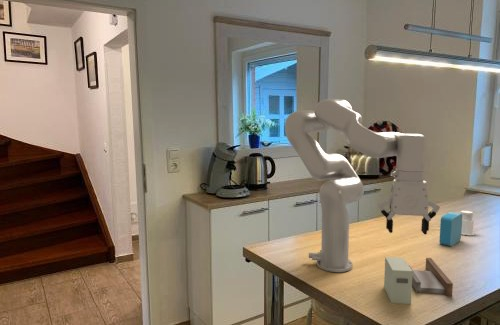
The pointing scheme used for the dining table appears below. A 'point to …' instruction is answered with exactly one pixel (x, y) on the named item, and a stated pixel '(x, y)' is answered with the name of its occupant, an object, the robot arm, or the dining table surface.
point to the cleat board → (431, 280)
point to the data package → (450, 228)
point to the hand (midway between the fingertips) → (406, 232)
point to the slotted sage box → (398, 280)
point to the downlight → (467, 223)
